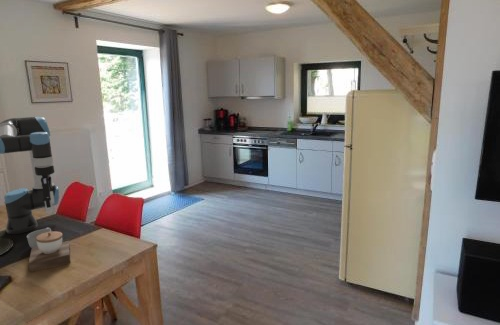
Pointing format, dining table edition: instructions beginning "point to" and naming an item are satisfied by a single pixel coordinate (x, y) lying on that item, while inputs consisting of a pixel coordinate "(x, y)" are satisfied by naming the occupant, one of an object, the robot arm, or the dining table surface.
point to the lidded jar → (49, 241)
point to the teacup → (33, 235)
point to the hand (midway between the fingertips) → (50, 208)
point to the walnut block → (49, 258)
